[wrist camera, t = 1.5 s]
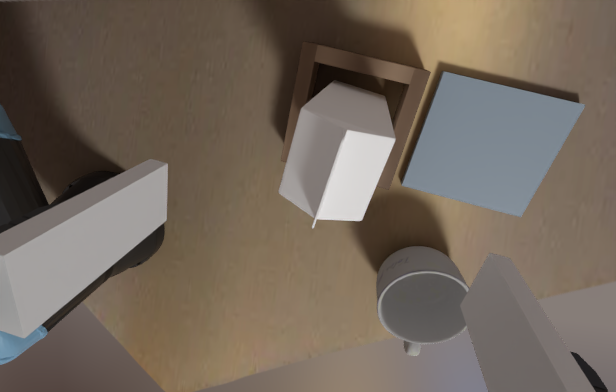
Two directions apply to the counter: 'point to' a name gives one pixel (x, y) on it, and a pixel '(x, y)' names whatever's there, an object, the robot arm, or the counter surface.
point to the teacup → (420, 297)
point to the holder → (367, 65)
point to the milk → (338, 152)
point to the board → (488, 143)
